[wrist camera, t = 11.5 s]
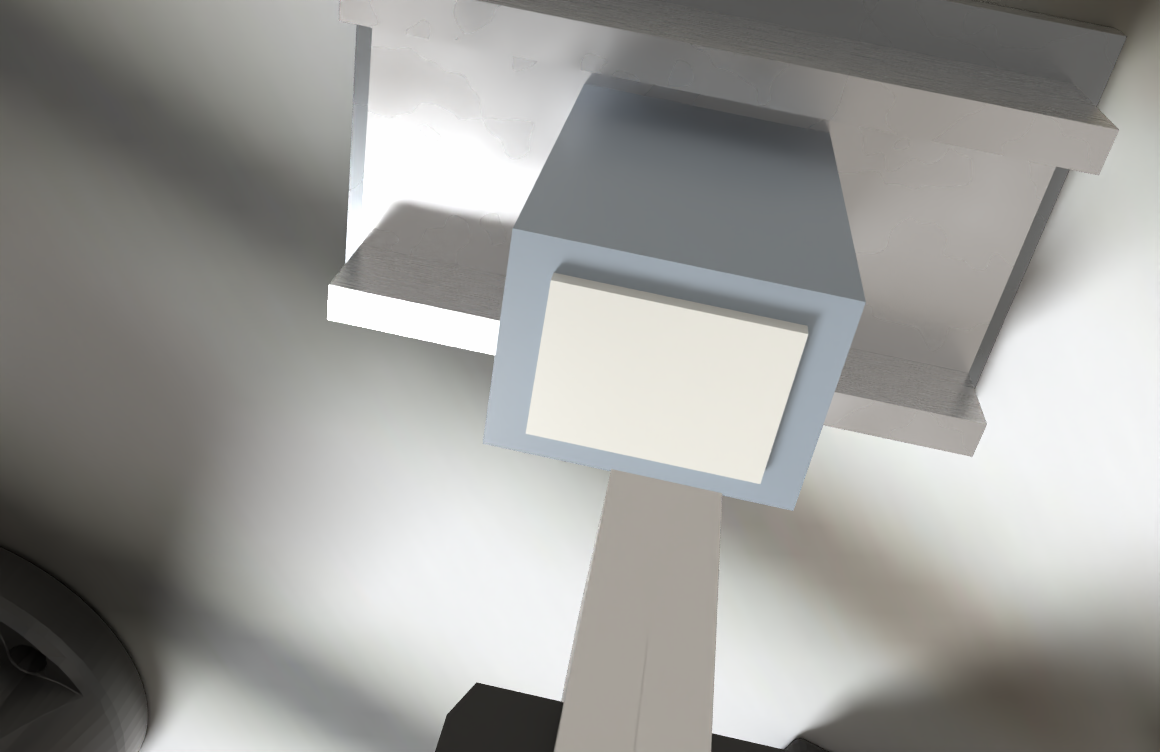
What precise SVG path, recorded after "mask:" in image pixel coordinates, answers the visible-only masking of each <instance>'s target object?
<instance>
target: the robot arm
mask: <svg viewBox="0 0 1160 752" xmlns="http://www.w3.org/2000/svg"><path fill="white" fill-rule="evenodd" d="M721 511H722V493H719V492H714V491H710V490H705V489H701V488H696V487H691V486H687V485H682V484H678V483H673V482H669V481H664V480H659V479H655V478H650V477H646V476H641V475H637V474H632V473H627V472H623V471H618V470H614V469H611V472H610V477H609V481H608V486H607V490H606V495H605V499H604V504H603V508H602V513H601V517H600V522H599V526H598V531H597V535H596V540H595V544H594V549H593V553H592V558H591V562H590V567H589V571H588V576H587V580H586V584H585V589H584V593H583V598H582V602H581V607H580V611H579V616H578V621H577V626H576V631H575V636H574V640H573V645H572V650H571V655H570V660H569V665H568V670H567V675H566V680H565V685H564V690H563V695H562V700H561V702H560V701H556V700H551V699H547V698H542V697H538V696H534V695H529V694H525V693H520V692H516V691H512V690H507V689H503V688H498V687H494V686H490V685H485V684H481V683H476V684H475V685H474V686H473V687H472V688H471V689H470V690H469V691H468V692H467V694H466V695H465V696H464V697H463V698H462V699H461V700H460V701H459V702H458V703H457V704H456V706H455V707H454V708H453V709H452V710H451V711H450V712H449V713H448V714H447V716H446V719H445V722H444V725H443V729H442V732H441V735H440V738H439V741H438V744H437V747H436V751H435V752H789V751H787V750H783V749H778V748H774V747H770V746H765V745H761V744H756V743H752V742H748V741H743V740H739V739H734V738H730V737H726V736H721V735H717V734H712V718H713V695H714V672H715V649H716V626H717V603H718V580H719V557H720V534H721ZM147 723H148V708H147V700H146V695H145V691H144V688H143V685H142V682H141V679H140V676H139V674H138V672H137V669H136V667H135V665H134V663H133V662H132V660H131V658H130V656H129V655H128V653H127V651H126V650H125V648H124V647H123V645H122V644H121V642H120V641H119V640H118V638H117V637H116V635H115V634H114V633H113V632H112V630H111V629H110V628H109V627H108V626H107V625H106V623H105V622H104V621H103V620H102V619H101V618H100V617H99V616H98V615H97V614H96V613H95V612H94V611H93V610H92V609H91V608H90V607H89V606H88V605H87V604H86V603H85V602H84V601H83V600H81V599H80V598H79V597H78V596H77V595H76V594H74V593H73V592H72V591H71V590H70V589H68V588H67V587H66V586H64V585H63V584H62V583H60V582H59V581H58V580H56V579H55V578H54V577H52V576H51V575H49V574H48V573H46V572H44V571H43V570H41V569H40V568H38V567H37V566H35V565H33V564H32V563H30V562H28V561H27V560H25V559H23V558H21V557H19V556H17V555H15V554H13V553H12V552H9V551H7V550H5V549H3V548H1V547H0V752H138V751H139V750H140V748H141V745H142V743H143V741H144V738H145V735H146V730H147Z"/></svg>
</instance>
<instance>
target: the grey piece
mask: <svg viewBox="0 0 1160 752" xmlns="http://www.w3.org/2000/svg"><path fill="white" fill-rule="evenodd" d="M339 21H342V22H347V23H352V24H357V31H356V52H355V73H354V94H353V115H352V137H351V158H350V179H349V200H348V221H347V242H346V263H345V265H344V266H343V267H342V269H341V270H340V271H339V272H338V274H337V275H336V276H335V278H334V279H333V280H332V281H331V283H330V284H329V291H328V317H327V319H328V320H332V321H337V322H342V323H346V324H351V325H356V326H360V327H365V328H370V329H375V330H379V331H384V332H389V333H393V334H398V335H403V336H407V337H412V338H417V339H422V340H426V341H431V342H436V343H440V344H445V345H450V346H454V347H459V348H464V349H469V350H473V351H478V352H483V353H487V354H492V355H495V352H496V345H497V338H498V331H499V323H500V316H501V309H502V302H503V295H504V287H505V280H506V273H507V266H508V259H509V251H510V244H511V237H512V230H513V227H514V225H515V223H516V221H517V219H518V217H519V215H520V213H521V211H522V209H523V207H524V204H525V202H526V200H527V198H528V196H529V194H530V192H531V190H532V188H533V186H534V184H535V182H536V180H537V178H538V176H539V174H540V172H541V170H542V168H543V166H544V164H545V162H546V160H547V158H548V156H549V154H550V152H551V150H552V148H553V146H554V144H555V142H556V140H557V138H558V136H559V134H560V132H561V130H562V128H563V126H564V124H565V122H566V120H567V118H568V116H569V114H570V112H571V110H572V108H573V106H574V104H575V102H576V99H577V97H578V95H579V93H580V91H581V89H582V87H583V85H584V84H589V85H594V86H599V87H604V88H609V89H614V90H619V91H624V92H629V93H634V94H638V95H643V96H648V97H653V98H658V99H663V100H668V101H673V102H678V103H683V104H688V105H693V106H697V107H702V108H707V109H712V110H717V111H722V112H727V113H732V114H737V115H742V116H747V117H752V118H756V119H761V120H766V121H771V122H776V123H781V124H786V125H791V126H796V127H801V128H806V129H811V130H815V131H820V132H825V133H830V136H831V141H832V146H833V150H834V155H835V160H836V164H837V169H838V174H839V178H840V183H841V188H842V192H843V197H844V202H845V206H846V211H847V216H848V220H849V225H850V230H851V235H852V239H853V244H854V249H855V253H856V258H857V263H858V267H859V272H860V277H861V281H862V286H863V291H864V295H865V300H866V303H865V306H864V309H863V312H862V315H861V318H860V320H859V323H858V326H857V329H856V332H855V335H854V338H853V341H852V343H851V346H850V349H849V352H848V355H847V358H846V361H845V364H844V366H843V369H842V372H841V375H840V378H839V381H838V384H837V387H836V389H835V392H834V395H833V398H832V401H831V404H830V407H829V410H828V412H827V415H826V418H825V421H824V424H823V425H825V426H830V427H835V428H840V429H844V430H849V431H854V432H858V433H863V434H868V435H872V436H877V437H882V438H887V439H891V440H896V441H901V442H905V443H910V444H915V445H919V446H924V447H929V448H933V449H938V450H943V451H948V452H952V453H957V454H962V455H966V456H971V457H972V456H973V454H974V452H975V450H976V447H977V445H978V443H979V441H980V439H981V436H982V434H983V432H984V430H985V427H986V425H987V423H986V420H985V417H984V415H983V412H982V409H981V406H980V403H979V400H978V398H977V395H976V392H975V387H976V385H977V382H978V380H979V378H980V376H981V373H982V371H983V369H984V366H985V364H986V362H987V359H988V357H989V355H990V352H991V350H992V348H993V345H994V343H995V341H996V338H997V336H998V334H999V332H1000V329H1001V327H1002V325H1003V322H1004V320H1005V318H1006V315H1007V313H1008V311H1009V308H1010V306H1011V304H1012V301H1013V299H1014V297H1015V295H1016V292H1017V290H1018V288H1019V285H1020V283H1021V281H1022V278H1023V276H1024V274H1025V271H1026V269H1027V267H1028V264H1029V262H1030V260H1031V257H1032V255H1033V253H1034V251H1035V248H1036V246H1037V244H1038V241H1039V239H1040V237H1041V234H1042V232H1043V230H1044V227H1045V225H1046V223H1047V220H1048V218H1049V216H1050V214H1051V211H1052V209H1053V207H1054V204H1055V202H1056V200H1057V197H1058V195H1059V193H1060V190H1061V188H1062V186H1063V183H1064V181H1065V179H1066V176H1067V174H1068V172H1069V170H1070V169H1071V170H1076V171H1081V172H1085V173H1090V174H1095V175H1099V174H1100V171H1101V169H1102V167H1103V165H1104V162H1105V160H1106V158H1107V156H1108V154H1109V151H1110V149H1111V147H1112V145H1113V142H1114V140H1115V138H1116V136H1117V133H1118V131H1119V129H1118V128H1117V127H1116V126H1115V125H1114V124H1113V123H1112V122H1111V121H1110V120H1109V119H1108V118H1107V117H1106V116H1105V115H1104V114H1103V113H1102V112H1101V111H1100V110H1099V109H1098V108H1097V105H1098V102H1099V100H1100V98H1101V95H1102V93H1103V91H1104V89H1105V86H1106V84H1107V82H1108V79H1109V77H1110V75H1111V72H1112V70H1113V68H1114V65H1115V63H1116V61H1117V58H1118V56H1119V54H1120V52H1121V49H1122V47H1123V45H1124V42H1125V40H1126V38H1127V36H1126V35H1124V34H1123V33H1122V32H1120V31H1119V30H1118V29H1115V28H1110V27H1105V26H1100V25H1095V24H1090V23H1085V22H1080V21H1075V20H1070V19H1065V18H1060V17H1055V16H1050V15H1045V14H1040V13H1035V12H1030V11H1025V10H1020V9H1014V8H1009V7H1004V6H999V5H994V4H989V3H984V2H979V1H974V0H340V5H339Z"/></svg>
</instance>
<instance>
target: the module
mask: <svg viewBox="0 0 1160 752" xmlns="http://www.w3.org/2000/svg"><path fill="white" fill-rule="evenodd" d="M865 303H866V300H865V295H864V291H863V286H862V281H861V277H860V272H859V267H858V263H857V258H856V253H855V249H854V244H853V239H852V235H851V230H850V225H849V220H848V216H847V211H846V206H845V202H844V197H843V192H842V188H841V183H840V178H839V174H838V169H837V164H836V160H835V155H834V150H833V146H832V141H831V136H830V133H825V132H820V131H815V130H811V129H806V128H801V127H796V126H791V125H786V124H781V123H776V122H771V121H766V120H761V119H756V118H752V117H747V116H742V115H737V114H732V113H727V112H722V111H717V110H712V109H707V108H702V107H697V106H693V105H688V104H683V103H678V102H673V101H668V100H663V99H658V98H653V97H648V96H643V95H638V94H634V93H629V92H624V91H619V90H614V89H609V88H604V87H599V86H594V85H589V84H584V85H583V87H582V89H581V91H580V93H579V95H578V97H577V99H576V102H575V104H574V106H573V108H572V110H571V112H570V114H569V116H568V118H567V120H566V122H565V124H564V126H563V128H562V130H561V132H560V134H559V136H558V138H557V140H556V142H555V144H554V146H553V148H552V150H551V152H550V154H549V156H548V158H547V160H546V162H545V164H544V166H543V168H542V170H541V172H540V174H539V176H538V178H537V180H536V182H535V184H534V186H533V188H532V190H531V192H530V194H529V196H528V198H527V200H526V202H525V204H524V207H523V209H522V211H521V213H520V215H519V217H518V219H517V221H516V223H515V225H514V227H513V230H512V237H511V244H510V251H509V259H508V266H507V273H506V280H505V287H504V295H503V302H502V309H501V316H500V323H499V331H498V338H497V345H496V352H495V359H494V367H493V374H492V381H491V388H490V395H489V403H488V410H487V417H486V424H485V431H484V439H483V444H487V445H491V446H496V447H501V448H505V449H510V450H515V451H519V452H524V453H528V454H533V455H538V456H542V457H547V458H552V459H556V460H561V461H565V462H570V463H575V464H579V465H584V466H589V467H593V468H598V469H603V470H607V471H611V469H614V470H618V471H623V472H627V473H632V474H637V475H641V476H646V477H650V478H655V479H659V480H664V481H669V482H673V483H678V484H682V485H687V486H691V487H696V488H701V489H705V490H710V491H714V492H719V493H722V495H723V496H728V497H732V498H737V499H741V500H746V501H751V502H755V503H760V504H765V505H769V506H774V507H779V508H783V509H788V510H792V511H793V510H794V507H795V504H796V502H797V499H798V496H799V493H800V490H801V487H802V484H803V481H804V479H805V476H806V473H807V470H808V467H809V464H810V461H811V458H812V456H813V453H814V450H815V447H816V444H817V441H818V438H819V435H820V433H821V430H822V427H823V424H824V421H825V418H826V415H827V412H828V410H829V407H830V404H831V401H832V398H833V395H834V392H835V389H836V387H837V384H838V381H839V378H840V375H841V372H842V369H843V366H844V364H845V361H846V358H847V355H848V352H849V349H850V346H851V343H852V341H853V338H854V335H855V332H856V329H857V326H858V323H859V320H860V318H861V315H862V312H863V309H864V306H865Z"/></svg>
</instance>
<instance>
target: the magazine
mask: <svg viewBox="0 0 1160 752" xmlns="http://www.w3.org/2000/svg"><path fill="white" fill-rule="evenodd" d="M785 750H787V751H789V752H829V751H827V750H825V749H823V748H821V747H819V746H817V745H815V744H813V743H811V742H809V741H807V740H805V739H796V740H794V741H793V742H792V743H791V744H790V745H789V746H788V747H787V748H786V749H785Z"/></svg>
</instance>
